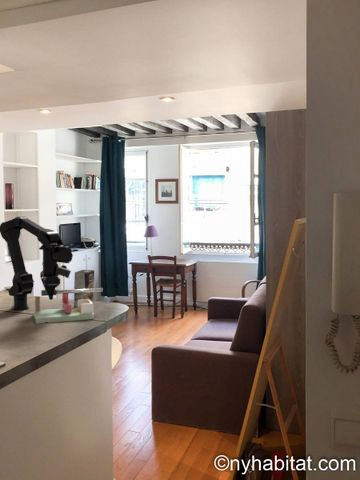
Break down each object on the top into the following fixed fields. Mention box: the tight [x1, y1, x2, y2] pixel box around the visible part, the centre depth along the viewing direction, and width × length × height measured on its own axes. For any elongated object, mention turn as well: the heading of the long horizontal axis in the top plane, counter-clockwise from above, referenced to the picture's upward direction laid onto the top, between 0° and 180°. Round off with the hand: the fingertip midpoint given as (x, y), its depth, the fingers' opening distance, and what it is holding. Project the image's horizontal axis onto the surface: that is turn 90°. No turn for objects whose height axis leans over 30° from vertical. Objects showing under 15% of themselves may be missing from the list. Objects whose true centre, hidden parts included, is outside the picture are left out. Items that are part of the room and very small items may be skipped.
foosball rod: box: [40, 287, 104, 313], centre depth 189 cm, size 10×26×8 cm, turn 113°
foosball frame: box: [33, 294, 95, 324], centre depth 186 cm, size 13×23×8 cm, turn 113°
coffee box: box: [73, 269, 95, 308], centre depth 207 cm, size 9×6×16 cm
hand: (49, 297), depth 189 cm, fingers open, 9 cm apart
